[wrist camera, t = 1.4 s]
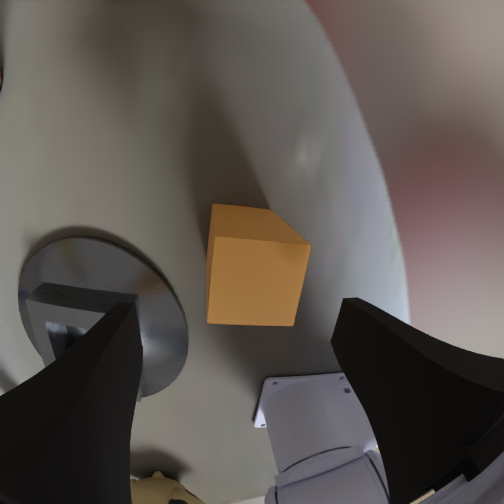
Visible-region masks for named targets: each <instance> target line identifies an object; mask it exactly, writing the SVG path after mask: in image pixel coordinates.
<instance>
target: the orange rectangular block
mask: <svg viewBox="0 0 504 504" xmlns="http://www.w3.org/2000/svg"><path fill="white" fill-rule="evenodd" d="M310 249H311V245H310V244H309V243H308V242H307V241H306V240H305V239H304V238H303V237H301V236H300V235H299V234H298V233H297V232H296V231H295V230H294V229H292V228H291V227H290V226H289V225H288V224H287V223H286V222H285V221H283V220H282V219H281V218H280V217H279V216H278V215H277V214H275V213H274V212H273V211H272V210H270V209H262V208H253V207H244V206H235V205H225V204H215V203H212V211H211V220H210V230H209V240H208V250H207V323H213V324H232V325H259V326H293V324H294V320H295V316H296V312H297V308H298V303H299V299H300V295H301V291H302V286H303V282H304V277H305V273H306V268H307V264H308V259H309V254H310Z"/></svg>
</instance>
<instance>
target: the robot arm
mask: <svg viewBox="0 0 504 504" xmlns="http://www.w3.org/2000/svg"><path fill="white" fill-rule="evenodd" d="M331 344H332V347H333V350H334V353H335V355H336V358H337V360H338V363H339V365H340V367H341V369H342V371H343V372H342V373H333V374H322V375H309V376H293V377H270V378H267V379H266V380H265V381H264V385H263V389H262V393H261V397H260V401H259V405H258V409H257V413H256V416H255V420H254V427H256V428H260V427H267V430H268V434H269V438H270V442H271V446H272V450H273V454H274V458H275V462H276V466H277V469H278V473H279V474H278V475H275V476H274V478H275V482H276V485H275V486H271V487H270V488H269V490H268V492H267V494H266V495H265V504H410V503H412V502H414V501H415V500H417V499H419V498H420V497H422V496H424V495H425V494H427V493H429V492H430V491H432V490H433V489H434V491H435V493H434V494H432V495H431V496H429V497H428V498H426V499H424V500H423V501H421V502H420V503H418V504H504V359H502V358H496V357H491V356H486V355H482V354H478V353H474V352H471V351H467V350H465V349H461V348H459V347H456V346H453V345H451V344H448V343H446V342H443V341H441V340H438V339H436V338H434V337H431V336H429V335H428V334H425V333H424V332H422V331H420V330H417V329H415V328H414V327H412V326H410V325H408V324H406V323H404V322H403V321H401V320H399V319H397V318H396V317H394V316H392V315H390V314H388V313H387V312H385V311H383V310H381V309H380V308H378V307H376V306H374V305H372V304H370V303H368V302H366V301H364V300H362V299H360V298H357V297H356V298H343V301H342V305H341V308H340V312H339V315H338V319H337V322H336V326H335V329H334V332H333V335H332V339H331ZM142 361H143V345H142V340H141V334H140V329H139V323H138V317H137V311H136V305H135V303H132V302H117V303H116V304H115V305H114V306H113V307H112V308H111V309H110V310H109V311H108V312H107V313H106V314H105V315H104V316H103V317H102V318H101V319H100V320H99V321H98V322H97V323H96V324H95V325H94V326H92V327H91V328H90V329H89V330H88V331H87V332H86V333H85V334H84V335H83V336H82V337H81V338H80V339H79V340H78V341H77V342H75V343H74V344H73V345H72V346H71V347H70V348H69V349H68V350H66V351H65V352H64V353H63V354H62V355H61V356H60V357H58V358H57V359H56V360H55V361H53V362H52V363H51V364H50V365H48V366H47V367H45V368H44V369H43V370H41V371H40V372H39V373H37V374H36V375H34V376H33V377H31V378H30V379H28V380H26V381H25V382H23V383H22V384H20V385H18V386H17V387H15V388H14V389H12V390H10V391H8V392H7V393H5V394H3V395H1V396H0V504H132V498H131V485H130V436H131V428H132V422H133V416H134V410H135V405H136V399H137V394H138V389H139V384H140V379H141V372H142ZM376 445H378V448H379V451H380V452H377V451H374V450H375V448H376Z"/></svg>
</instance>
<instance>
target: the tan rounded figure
mask: <svg viewBox="0 0 504 504" xmlns="http://www.w3.org/2000/svg"><path fill="white" fill-rule="evenodd" d="M130 485H131V498H132V504H205V503H204V502H203V501H202V500H200V499H199V498H198V497H196V496H195V495H193V494H192V493H191V492H189V491H188V490H187V489H186V488H185V487H184V486H183V485H182V484H180V483H179V482H177V481H175V480H173V479H170V478H165V477H164V476H163V473H162V472H160V471H156V472H154V474H153V476H152V477H148V478H144V479H141V480H138V481H137V480H135V479H131V480H130Z"/></svg>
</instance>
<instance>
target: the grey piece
mask: <svg viewBox="0 0 504 504" xmlns="http://www.w3.org/2000/svg"><path fill="white" fill-rule="evenodd" d="M18 302H19V311H20V315H21V319H22V323H23V325H24V328H25V331H26V333H27V335H28V337H29V339H30V341H31V343H32V344H33V346H34V347H35V349H36V350H37V352H38V353H39V354H40V356H41V357H42V359H43V362H44V365H45V367H47V366H48V365H50V364H51V363H52V362H53V361H55V360H56V359H57V358H58V357H60V356H61V355H62V354H63V353H64V352H65V351H66V350H68V349H69V348H70V347H71V346H72V345H73V344H74V343H75V342H77V341H78V340H79V339H80V338H81V337H82V336H83V335H84V334H85V333H86V332H87V331H88V330H89V329H90V328H91V327H92V326H94V325H95V324H96V323H97V322H98V321H99V320H100V319H101V318H102V317H103V316H104V315H105V314H106V313H107V312H108V311H109V310H110V309H111V308H112V307H113V306H114V305H115V304H116V303H117V302H132V303H135V305H136V311H137V317H138V323H139V329H140V334H141V340H142V345H143V361H142V372H141V379H140V384H139V389H138V394H137V399H136V401H137V402H141V398H142V397H147V396H150V395H153V394H155V393H157V392H159V391H161V390H163V389H164V388H166V387H167V386H169V385H170V384H171V383H172V382H173V381H174V380H175V379H176V378H177V376H178V375H179V374H180V372H181V371H182V368H183V366H184V364H185V361H186V358H187V352H188V341H189V338H188V326H187V322H186V317H185V314H184V312H183V309H182V306H181V304H180V302H179V300H178V298H177V296H176V295H175V293H174V292H173V290H172V289H171V287H170V286H169V284H168V283H167V282H166V281H165V280H164V278H163V277H162V276H161V275H160V274H159V273H158V272H157V271H156V270H155V269H154V268H153V267H152V266H151V265H150V264H149V263H147V262H146V261H145V260H143V259H142V258H141V257H140V256H138V255H137V254H135V253H133V252H132V251H130V250H128V249H127V248H125V247H123V246H120V245H118V244H116V243H114V242H111V241H108V240H104V239H101V238H96V237H90V236H72V237H66V238H62V239H59V240H56V241H54V242H52V243H50V244H48V245H47V246H45V247H44V248H42V249H41V250H40V251H38V252H37V253H36V254H35V255H34V256H33V257H32V258H31V260H30V261H29V262H28V263H27V265H26V267H25V269H24V271H23V273H22V276H21V279H20V284H19V291H18ZM130 441H131V436H130Z"/></svg>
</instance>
